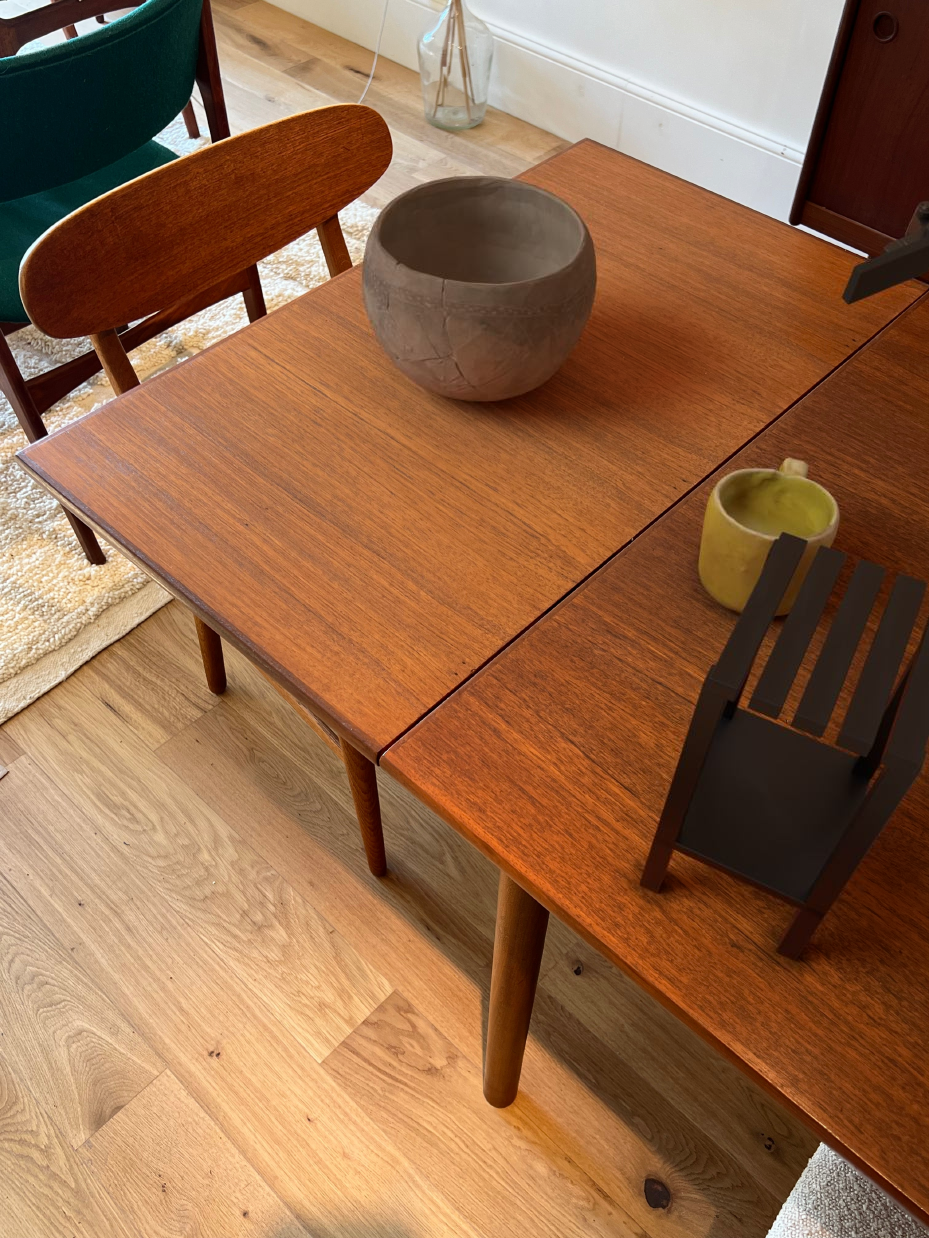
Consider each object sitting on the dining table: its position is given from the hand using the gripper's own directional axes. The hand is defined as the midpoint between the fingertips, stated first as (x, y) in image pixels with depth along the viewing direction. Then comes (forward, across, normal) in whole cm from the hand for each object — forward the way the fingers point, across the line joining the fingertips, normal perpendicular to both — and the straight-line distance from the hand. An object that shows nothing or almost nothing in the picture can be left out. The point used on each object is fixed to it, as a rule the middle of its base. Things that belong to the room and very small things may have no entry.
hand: (917, 355), depth 62 cm
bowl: (+15, +32, -25) cm, 44 cm away
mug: (+6, 0, -20) cm, 21 cm away
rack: (+22, -19, -15) cm, 33 cm away
